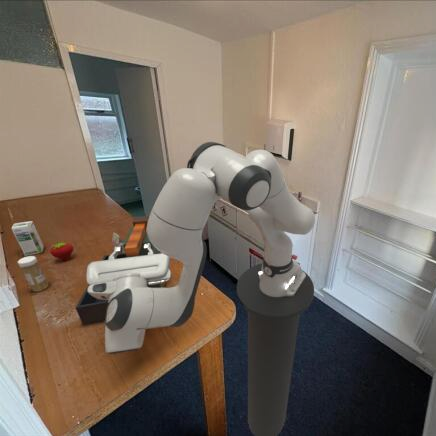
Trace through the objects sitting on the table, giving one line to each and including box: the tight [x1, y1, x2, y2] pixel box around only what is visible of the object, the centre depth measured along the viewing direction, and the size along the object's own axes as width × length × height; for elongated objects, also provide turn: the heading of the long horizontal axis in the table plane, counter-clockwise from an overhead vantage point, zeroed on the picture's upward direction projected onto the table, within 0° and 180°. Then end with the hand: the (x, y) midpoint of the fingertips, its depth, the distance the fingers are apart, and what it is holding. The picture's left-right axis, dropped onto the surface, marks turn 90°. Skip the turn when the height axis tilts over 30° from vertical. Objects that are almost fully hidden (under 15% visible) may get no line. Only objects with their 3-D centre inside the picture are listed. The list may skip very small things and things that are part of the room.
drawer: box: [75, 253, 127, 326], centre depth 89 cm, size 30×12×8 cm, turn 21°
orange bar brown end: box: [125, 215, 150, 257], centre depth 77 cm, size 20×4×4 cm, turn 21°
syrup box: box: [11, 220, 45, 257], centre depth 105 cm, size 6×6×14 cm
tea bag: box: [110, 232, 125, 253], centre depth 111 cm, size 4×7×10 cm, turn 55°
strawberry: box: [49, 241, 74, 261], centre depth 103 cm, size 6×8×10 cm
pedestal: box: [123, 226, 167, 288], centre depth 87 cm, size 12×8×26 cm, turn 21°
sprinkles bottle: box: [17, 255, 50, 293], centre depth 86 cm, size 5×5×14 cm
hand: (133, 245), depth 72 cm, fingers open, 6 cm apart
